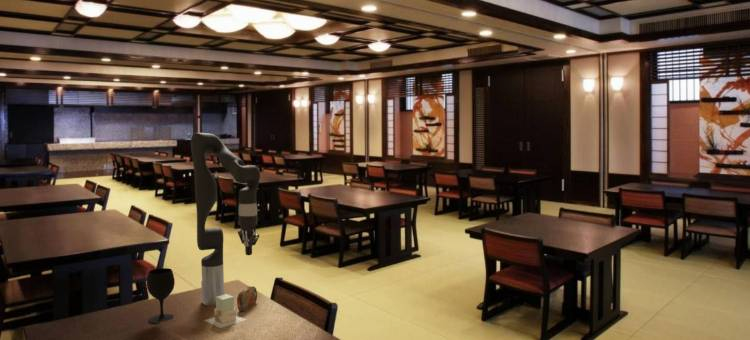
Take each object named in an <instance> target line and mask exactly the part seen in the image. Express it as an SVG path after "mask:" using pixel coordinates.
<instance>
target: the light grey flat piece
mask: <svg viewBox="0 0 750 340" xmlns="http://www.w3.org/2000/svg"><path fill="white" fill-rule="evenodd" d="M247 320H248V319H247V318H244V317H241V316H239V315H237V314H236V320H234V321H231V322H228V323H224V324H222V323H220V322H218V321H216V320H215V316H214V317H210V318H208V319H204V322H207V323H208V324H211V325H213V326H214V327H217V328H219V329H222V328H226V327H228V326H229V327H230V326H231V325H234V324H238V323H242V322H243V321H247Z"/></svg>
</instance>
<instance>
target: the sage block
mask: <svg viewBox="0 0 750 340" xmlns="http://www.w3.org/2000/svg"><path fill="white" fill-rule="evenodd" d="M234 308H235V296H233V295H230V294H228V293H224V295H221V296H218V297H216V305H215V309H217V310H219V311H222V312H225V311H229V310H232V309H234Z"/></svg>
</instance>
